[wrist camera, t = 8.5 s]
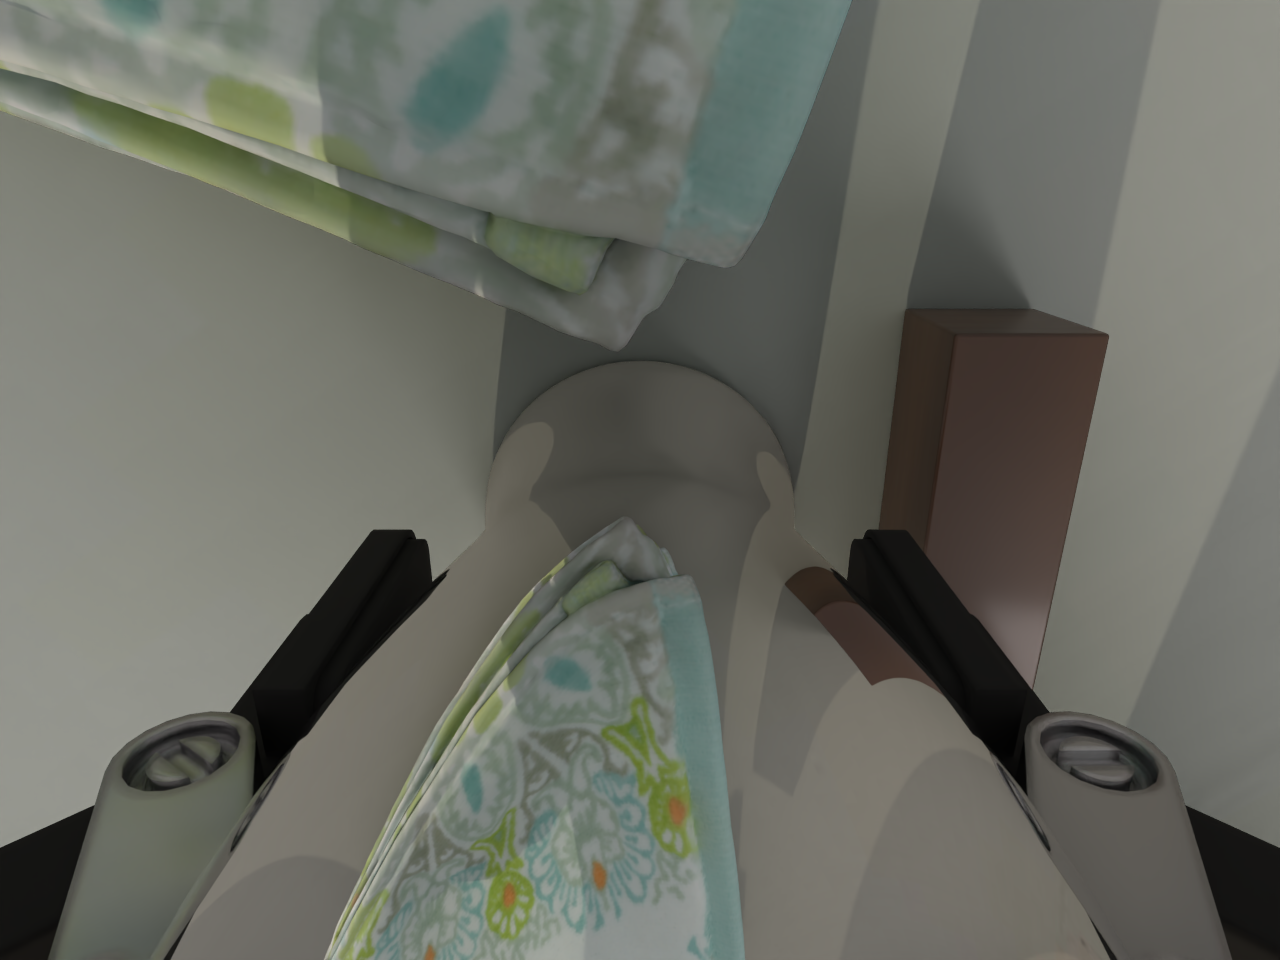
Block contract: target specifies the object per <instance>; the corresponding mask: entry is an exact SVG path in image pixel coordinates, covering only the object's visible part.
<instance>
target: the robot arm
mask: <svg viewBox="0 0 1280 960" xmlns="http://www.w3.org/2000/svg"><path fill="white" fill-rule="evenodd" d="M847 581H848V582H849V583H850V584H851V585H852V586H853V587H854V588H855V589H856V590H857V591H858V592H859V593H860V594H861V596H862V597H863V598H864V599H865V600H866V601H867V602H868V603H869V604H870V605H871V606H872V607H873V608H874V609H875V610H876V611H877V612H878V613H879V614H880V615H881V616H882V617H883V618H884V619H885V620H886V621H887V622H888V623H889V624H890V625H891V626H892V627H893V628H894V629H895V630H896V631H897V632H898V633H899V634H900V635H901V637H902V638H903V639H904V640H905V641H906V642H907V643H908V645H909V646H910V647H911V648H912V649H913V650H914V652H915V653H916V654H917V655H918V656H919V657H920V659H921V660H922V661H923V662H924V663H925V665H926V666H927V667H928V668H929V669H930V670H931V672H932V673H933V674H934V675H935V676H936V677H937V679H938V680H939V681H940V682H941V683H942V685H943V686H944V687H945V688H946V689H947V690H948V692H949V693H950V694H951V695H952V696H953V697H954V699H955V700H956V701H957V702H958V703H959V705H960V706H961V707H962V708H963V709H964V710H965V712H966V713H967V714H968V715H969V716H970V717H971V719H972V720H973V721H974V722H975V723H976V725H977V726H978V727H979V728H980V729H981V731H982V732H983V733H984V735H985V736H986V737H987V738H988V740H989V741H990V742H991V744H992V745H993V747H994V748H995V750H996V751H997V753H998V754H999V756H1000V757H1001V759H1002V760H1003V761H1004V763H1005V764H1006V766H1007V767H1008V769H1009V770H1010V772H1011V773H1012V775H1013V776H1014V778H1015V779H1016V781H1017V782H1018V784H1019V785H1020V787H1021V788H1022V789H1023V791H1024V792H1025V794H1026V795H1027V797H1028V798H1029V800H1030V801H1031V803H1032V804H1033V806H1034V807H1035V809H1036V810H1037V812H1038V813H1039V815H1040V816H1041V818H1042V819H1043V820H1044V822H1045V823H1046V825H1047V826H1048V828H1049V829H1050V831H1051V832H1052V834H1053V835H1054V837H1055V838H1056V840H1057V841H1058V843H1059V844H1060V846H1061V847H1062V849H1063V850H1064V851H1065V853H1066V854H1067V856H1068V857H1069V859H1070V860H1071V862H1072V863H1073V865H1074V866H1075V868H1076V869H1077V871H1078V872H1079V874H1080V875H1081V877H1082V878H1083V879H1084V881H1085V882H1086V884H1087V885H1088V887H1089V888H1090V890H1091V891H1092V893H1093V894H1094V896H1095V898H1096V899H1097V901H1098V903H1099V904H1100V906H1101V908H1102V909H1103V911H1104V913H1105V914H1106V916H1107V918H1108V919H1109V921H1110V923H1111V925H1112V926H1113V928H1114V930H1115V931H1116V933H1117V935H1118V936H1119V938H1120V940H1121V941H1122V943H1123V945H1124V947H1125V948H1126V950H1127V952H1128V953H1129V955H1130V957H1131V958H1132V960H1280V848H1278V847H1276V846H1274V845H1272V844H1270V843H1267V842H1265V841H1263V840H1261V839H1259V838H1256V837H1254V836H1252V835H1250V834H1248V833H1245V832H1243V831H1241V830H1239V829H1237V828H1234V827H1232V826H1230V825H1228V824H1226V823H1223V822H1221V821H1219V820H1217V819H1214V818H1212V817H1210V816H1208V815H1206V814H1203V813H1201V812H1199V811H1197V810H1195V809H1192V808H1190V807H1188V806H1186V805H1185V803H1184V799H1183V796H1182V793H1181V790H1180V786H1179V783H1178V780H1177V776H1176V773H1175V771H1174V769H1173V767H1172V765H1171V763H1170V762H1169V760H1168V758H1167V757H1166V756H1165V755H1164V754H1163V753H1162V752H1161V751H1160V750H1159V749H1158V748H1157V747H1156V746H1155V745H1154V744H1153V743H1152V742H1150V741H1149V740H1147V739H1146V738H1144V737H1143V736H1141V735H1140V734H1138V733H1137V732H1135V731H1133V730H1131V729H1129V728H1127V727H1125V726H1122V725H1120V724H1118V723H1116V722H1114V721H1111V720H1108V719H1104V718H1101V717H1098V716H1094V715H1091V714H1084V713H1077V712H1070V711H1069V712H1049V711H1048V710H1047V708H1046V707H1045V706H1044V705H1043V703H1042V702H1041V701H1040V699H1039V698H1038V697H1037V695H1036V694H1035V693H1034V691H1033V690H1032V689H1031V688H1030V686H1029V685H1028V684H1027V682H1026V681H1025V680H1024V678H1023V677H1022V676H1021V674H1020V673H1019V672H1018V671H1017V669H1016V668H1015V667H1014V665H1013V664H1012V663H1011V661H1010V660H1009V659H1008V657H1007V656H1006V655H1005V654H1004V652H1003V651H1002V650H1001V648H1000V647H999V646H998V644H997V643H996V642H995V640H994V639H993V638H992V636H991V635H990V634H989V633H988V631H987V630H986V629H985V627H984V626H983V625H982V623H981V622H980V621H979V620H978V619H977V618H976V617H975V616H974V615H973V614H970V613H969V612H968V610H967V609H966V608H965V606H964V605H963V604H962V602H961V601H960V600H959V598H958V597H957V596H956V594H955V593H954V592H953V590H952V589H951V588H950V586H949V585H948V584H947V582H946V581H945V580H944V578H943V577H942V576H941V574H940V573H939V572H938V570H937V569H936V568H935V567H934V565H933V564H932V563H931V561H930V560H929V559H928V557H927V556H926V555H925V553H924V552H923V551H922V549H921V548H920V547H919V545H918V544H917V543H916V541H915V540H914V539H913V537H912V536H911V535H910V533H909V532H908V531H907V530H867V531H866V533H865V535H864V538H863V539H854V540H853V542H852V545H851V550H850V559H849V568H848V577H847ZM431 583H432V574H431V565H430V556H429V548H428V544H427V541H426V540H425V539H416V537H415V534H414V532H413V531H412V530H373V531H372V532H370V534H369V535H368V536H367V538H366V539H365V540H364V542H363V543H362V544H361V546H360V547H359V548H358V550H357V551H356V552H355V554H354V555H353V556H352V558H351V559H350V560H349V562H348V563H347V564H346V566H345V567H344V568H343V570H342V571H341V572H340V574H339V575H338V576H337V578H336V579H335V580H334V582H333V583H332V584H331V585H330V587H329V588H328V589H327V591H326V592H325V593H324V595H323V596H322V597H321V599H320V600H319V601H318V603H317V604H316V605H315V607H314V608H313V609H312V611H311V612H310V613H309V614H307V615H305V616H304V617H303V618H302V619H301V620H300V621H299V623H298V624H297V625H296V626H295V628H294V629H293V630H292V632H291V633H290V634H289V636H288V637H287V638H286V640H285V641H284V642H283V644H282V645H281V646H280V647H279V649H278V650H277V651H276V653H275V654H274V655H273V657H272V658H271V659H270V661H269V662H268V663H267V664H266V666H265V667H264V668H263V670H262V671H261V672H260V674H259V675H258V676H257V678H256V679H255V680H254V681H253V683H252V684H251V685H250V687H249V688H248V689H247V691H246V692H245V693H244V695H243V696H242V697H241V698H240V700H239V701H238V702H237V704H236V705H235V706H234V708H233V709H232V710H231V712H211V711H210V712H203V713H196V714H189V715H186V716H182V717H179V718H176V719H172V720H169V721H166V722H164V723H162V724H160V725H158V726H155V727H153V728H151V729H149V730H147V731H145V732H143V733H142V734H140V735H139V736H137V737H136V738H134V739H133V740H131V741H130V742H128V743H127V744H126V745H125V746H124V747H123V748H122V749H121V750H120V751H119V752H118V753H117V754H116V755H115V756H114V757H113V758H112V760H111V762H110V763H109V765H108V767H107V769H106V771H105V773H104V776H103V780H102V783H101V786H100V790H99V793H98V796H97V799H96V803H95V805H94V806H92V807H89V808H87V809H85V810H83V811H80V812H78V813H76V814H74V815H72V816H69V817H67V818H65V819H63V820H61V821H58V822H56V823H54V824H52V825H50V826H47V827H45V828H43V829H41V830H39V831H36V832H34V833H32V834H30V835H28V836H25V837H23V838H21V839H19V840H17V841H14V842H12V843H10V844H8V845H6V846H3V847H1V848H0V960H148V959H149V958H150V956H151V954H152V953H153V951H154V949H155V948H156V946H157V944H158V943H159V941H160V939H161V937H162V936H163V934H164V932H165V931H166V929H167V927H168V926H169V924H170V922H171V921H172V919H173V917H174V915H175V914H176V912H177V910H178V909H179V907H180V905H181V904H182V902H183V900H184V899H185V897H186V896H187V894H188V893H189V891H190V889H191V888H192V886H193V885H194V883H195V882H196V880H197V879H198V877H199V876H200V874H201V873H202V871H203V870H204V869H205V867H206V866H207V864H208V863H209V861H210V860H211V858H212V857H213V855H214V854H215V852H216V851H217V849H218V848H219V846H220V845H221V843H222V842H223V840H224V839H225V837H226V836H227V835H228V833H229V832H230V830H231V829H232V827H233V826H234V824H235V823H236V821H237V820H238V818H239V817H240V815H241V814H242V812H243V811H244V809H245V808H246V806H247V805H248V804H249V802H250V801H251V799H252V798H253V796H254V795H255V793H256V792H257V790H258V789H259V787H260V786H261V784H262V783H263V781H264V780H265V778H266V777H267V775H268V774H269V773H270V771H271V770H272V768H273V767H274V765H275V764H276V762H277V761H278V759H279V758H280V756H281V755H282V753H283V752H284V750H285V749H286V747H287V746H288V745H289V743H290V742H291V741H292V739H293V738H294V737H295V735H296V734H297V733H298V731H299V730H300V729H301V728H302V727H303V725H304V724H305V723H306V722H307V721H308V720H309V718H310V717H311V716H312V715H313V714H314V712H315V711H316V710H317V709H318V708H319V707H320V705H321V704H322V703H323V702H324V701H325V700H326V698H327V697H328V696H329V695H330V694H331V693H332V691H333V690H334V689H335V688H336V687H337V685H338V684H339V683H340V682H341V681H342V680H343V678H344V677H345V676H346V675H347V674H348V673H349V671H350V670H351V669H352V668H353V667H354V665H355V664H356V663H357V662H358V661H359V660H360V658H361V657H362V656H363V655H364V654H365V653H366V651H367V650H368V649H369V648H370V647H371V646H372V644H373V643H374V642H375V641H376V640H377V638H378V637H379V636H380V635H381V634H382V633H383V632H384V631H385V630H386V629H387V628H388V627H389V626H390V624H391V623H392V622H393V621H394V620H395V619H396V618H397V617H398V616H399V615H400V614H401V613H402V612H403V611H404V610H405V609H406V608H407V607H408V606H409V605H410V604H411V603H412V602H413V601H414V600H415V599H416V598H417V597H418V596H419V595H420V594H421V593H422V592H423V591H424V590H425V589H426V588H427V587H428V586H429V585H430V584H431Z"/></svg>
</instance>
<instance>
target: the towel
mask: <svg viewBox="0 0 1280 960" xmlns="http://www.w3.org/2000/svg"><path fill="white" fill-rule="evenodd" d="M851 2H852V0H0V111H3V112H6V113H9V114H11V115H14V116H17V117H20V118H22V119H25V120H28V121H31V122H33V123H36V124H39V125H42V126H45V127H47V128H50V129H53V130H56V131H59V132H62V133H64V134H67V135H70V136H72V137H75V138H78V139H80V140H83V141H85V142H88V143H91V144H93V145H96V146H98V147H101V148H104V149H108V150H112V151H115V152H118V153H122V154H125V155H128V156H131V157H134V158H137V159H140V160H143V161H145V162H148V163H151V164H154V165H157V166H160V167H162V168H165V169H168V170H171V171H174V172H178V173H182V174H185V175H189V176H192V177H194V178H196V179H199V180H201V181H204V182H206V183H208V184H211V185H213V186H216V187H219V188H222V189H224V190H226V191H229V192H231V193H233V194H236V195H238V196H241V197H244V198H246V199H248V200H251V201H253V202H255V203H257V204H260V205H262V206H264V207H267V208H269V209H271V210H274V211H276V212H279V213H281V214H283V215H286V216H288V217H291V218H293V219H296V220H299V221H301V222H304V223H307V224H309V225H312V226H315V227H317V228H319V229H322V230H324V231H326V232H329V233H331V234H333V235H336V236H338V237H340V238H343V239H345V240H347V241H349V242H351V243H353V244H355V245H358V246H360V247H362V248H364V249H366V250H369V251H371V252H374V253H376V254H379V255H381V256H384V257H386V258H389V259H391V260H394V261H396V262H398V263H400V264H403V265H405V266H407V267H410V268H412V269H414V270H417V271H419V272H422V273H424V274H427V275H429V276H432V277H434V278H437V279H439V280H442V281H445V282H447V283H450V284H452V285H455V286H457V287H459V288H462V289H464V290H467V291H469V292H471V293H474V294H476V295H479V296H481V297H483V298H485V299H487V300H489V301H491V302H493V303H495V304H497V305H500V306H503V307H506V308H508V309H511V310H514V311H517V312H519V313H521V314H523V315H526V316H528V317H530V318H532V319H534V320H536V321H538V322H541V323H543V324H545V325H547V326H549V327H551V328H553V329H555V330H557V331H559V332H561V333H564V334H567V335H570V336H573V337H576V338H579V339H583V340H586V341H590V342H594V343H597V344H599V345H601V346H603V347H604V348H606V349H608V350H611V351H620V350H621V349H623V348H624V347H625V346H626V345H627V344H628V342H629V340H630V339H631V337H632V336H633V334H634V333H635V331H636V329H637V328H638V326H639V325H640V323H641V321H642V320H643V318H644V317H645V316H646V315H647V314H649V313H651V312H653V311H654V310H656V309H658V308H659V307H660V305H661V304H662V303H663V301H664V299H665V298H666V296H667V294H668V293H669V291H670V290H671V288H672V286H673V285H674V283H675V280H676V277H677V274H678V271H679V270H680V269H681V267H682V266H683V264H684V263H685V262H686V260H687V259H689V260H693V261H696V262H700V263H705V264H709V265H713V266H718V267H722V268H729V267H733V266H735V265H736V264H737V263H738V262H739V261H740V260H741V259H742V258H743V257H744V255H745V253H746V252H747V250H748V248H749V247H750V245H751V243H752V242H753V240H754V238H755V237H756V235H757V233H758V232H759V230H760V228H761V226H762V225H763V223H764V221H765V220H766V217H767V214H768V212H769V209H770V206H771V204H772V201H773V198H774V196H775V194H776V191H777V189H778V187H779V185H780V183H781V181H782V179H783V176H784V174H785V172H786V170H787V168H788V166H789V164H790V161H791V159H792V157H793V155H794V153H795V150H796V148H797V145H798V143H799V140H800V138H801V135H802V132H803V130H804V127H805V125H806V122H807V120H808V117H809V115H810V112H811V110H812V107H813V104H814V102H815V99H816V96H817V94H818V91H819V89H820V86H821V83H822V80H823V78H824V75H825V72H826V70H827V67H828V64H829V62H830V59H831V56H832V54H833V51H834V48H835V46H836V43H837V40H838V38H839V35H840V32H841V30H842V27H843V24H844V21H845V19H846V16H847V13H848V10H849V8H850V5H851Z"/></svg>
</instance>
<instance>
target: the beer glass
mask: <svg viewBox="0 0 1280 960" xmlns="http://www.w3.org/2000/svg"><path fill="white" fill-rule="evenodd" d="M148 960H1132V958H1131V957H1130V955H1129V953H1128V952H1127V950H1126V948H1125V947H1124V945H1123V943H1122V941H1121V940H1120V938H1119V936H1118V935H1117V933H1116V931H1115V930H1114V928H1113V926H1112V925H1111V923H1110V921H1109V919H1108V918H1107V916H1106V914H1105V913H1104V911H1103V909H1102V908H1101V906H1100V904H1099V903H1098V901H1097V899H1096V898H1095V896H1094V894H1093V893H1092V891H1091V890H1090V888H1089V887H1088V885H1087V884H1086V882H1085V881H1084V879H1083V878H1082V877H1081V875H1080V874H1079V872H1078V871H1077V869H1076V868H1075V866H1074V865H1073V863H1072V862H1071V860H1070V859H1069V857H1068V856H1067V854H1066V853H1065V851H1064V850H1063V849H1062V847H1061V846H1060V844H1059V843H1058V841H1057V840H1056V838H1055V837H1054V835H1053V834H1052V832H1051V831H1050V829H1049V828H1048V826H1047V825H1046V823H1045V822H1044V820H1043V819H1042V818H1041V816H1040V815H1039V813H1038V812H1037V810H1036V809H1035V807H1034V806H1033V804H1032V803H1031V801H1030V800H1029V798H1028V797H1027V795H1026V794H1025V792H1024V791H1023V789H1022V788H1021V787H1020V785H1019V784H1018V782H1017V781H1016V779H1015V778H1014V776H1013V775H1012V773H1011V772H1010V770H1009V769H1008V767H1007V766H1006V764H1005V763H1004V761H1003V760H1002V759H1001V757H1000V756H999V754H998V753H997V751H996V750H995V748H994V747H993V745H992V744H991V742H990V741H989V740H988V738H987V737H986V736H985V735H984V733H983V732H982V731H981V729H980V728H979V727H978V726H977V725H976V723H975V722H974V721H973V720H972V719H971V717H970V716H969V715H968V714H967V713H966V712H965V710H964V709H963V708H962V707H961V706H960V705H959V703H958V702H957V701H956V700H955V699H954V697H953V696H952V695H951V694H950V693H949V692H948V690H947V689H946V688H945V687H944V686H943V685H942V683H941V682H940V681H939V680H938V679H937V677H936V676H935V675H934V674H933V673H932V672H931V670H930V669H929V668H928V667H927V666H926V665H925V663H924V662H923V661H922V660H921V659H920V657H919V656H918V655H917V654H916V653H915V652H914V650H913V649H912V648H911V647H910V646H909V645H908V643H907V642H906V641H905V640H904V639H903V638H902V637H901V635H900V634H899V633H898V632H897V631H896V630H895V629H894V628H893V627H892V626H891V625H890V624H889V623H888V622H887V621H886V620H885V619H884V618H883V617H882V616H881V615H880V614H879V613H878V612H877V611H876V610H875V609H874V608H873V607H872V606H871V605H870V604H869V603H868V602H867V601H866V600H865V599H864V598H863V597H862V596H861V594H860V593H859V592H858V591H857V590H856V589H855V588H854V587H853V586H852V585H851V584H850V583H849V582H848V581H847V580H846V579H845V578H844V577H843V576H842V575H841V574H840V573H839V572H838V571H837V570H836V569H835V568H834V567H833V566H832V565H831V564H830V563H829V562H827V561H826V560H825V559H824V558H823V557H822V556H821V555H820V554H819V553H818V552H817V551H816V550H815V549H814V548H813V547H812V546H811V545H810V544H809V543H808V542H807V541H806V540H805V539H804V538H803V537H802V536H801V535H800V534H799V533H798V532H797V531H796V530H795V512H794V494H793V486H792V481H791V476H790V472H789V468H788V464H787V461H786V458H785V455H784V453H783V450H782V448H781V446H780V444H779V441H778V440H777V438H776V436H775V434H774V432H773V431H772V429H771V428H770V426H769V425H768V423H767V422H766V421H765V419H764V418H763V417H762V416H761V414H760V413H759V412H758V411H757V410H756V409H755V408H754V407H753V406H752V405H751V404H750V403H749V402H748V401H747V400H746V399H745V398H743V397H742V396H741V395H740V394H738V393H737V392H736V391H734V390H733V389H732V388H730V387H729V386H727V385H725V384H724V383H722V382H720V381H718V380H717V379H715V378H713V377H711V376H708V375H706V374H704V373H702V372H699V371H696V370H693V369H690V368H687V367H683V366H680V365H675V364H670V363H664V362H656V361H626V362H617V363H611V364H606V365H601V366H597V367H594V368H591V369H588V370H585V371H582V372H580V373H577V374H575V375H573V376H570V377H568V378H566V379H564V380H562V381H561V382H559V383H557V384H556V385H554V386H552V387H551V388H549V389H548V390H547V391H545V392H544V393H542V394H541V395H540V396H539V397H537V398H536V399H535V400H534V401H533V402H532V403H531V404H530V405H529V406H528V407H527V408H526V409H525V410H524V411H523V412H522V413H521V414H520V415H519V417H518V418H517V419H516V420H515V422H514V423H513V424H512V426H511V427H510V429H509V430H508V432H507V434H506V435H505V437H504V439H503V441H502V443H501V445H500V447H499V449H498V451H497V454H496V457H495V459H494V462H493V465H492V468H491V471H490V475H489V480H488V485H487V493H486V503H485V531H484V532H483V533H482V534H481V535H480V536H479V537H478V538H477V539H476V540H475V541H474V542H473V543H472V544H471V545H470V546H469V547H468V548H467V549H466V550H465V551H464V552H463V553H462V554H461V555H460V556H459V557H458V558H457V559H455V560H454V561H453V562H452V563H451V564H450V565H449V566H448V567H447V568H446V569H445V570H444V571H443V572H442V573H441V574H440V575H439V576H438V577H437V578H436V579H435V580H434V581H433V582H432V583H431V584H430V585H429V586H428V587H427V588H426V589H425V590H424V591H423V592H422V593H421V594H420V595H419V596H418V597H417V598H416V599H415V600H414V601H413V602H412V603H411V604H410V605H409V606H408V607H407V608H406V609H405V610H404V611H403V612H402V613H401V614H400V615H399V616H398V617H397V618H396V619H395V620H394V621H393V622H392V623H391V624H390V626H389V627H388V628H387V629H386V630H385V631H384V632H383V633H382V634H381V635H380V636H379V637H378V638H377V640H376V641H375V642H374V643H373V644H372V646H371V647H370V648H369V649H368V650H367V651H366V653H365V654H364V655H363V656H362V657H361V658H360V660H359V661H358V662H357V663H356V664H355V665H354V667H353V668H352V669H351V670H350V671H349V673H348V674H347V675H346V676H345V677H344V678H343V680H342V681H341V682H340V683H339V684H338V685H337V687H336V688H335V689H334V690H333V691H332V693H331V694H330V695H329V696H328V697H327V698H326V700H325V701H324V702H323V703H322V704H321V705H320V707H319V708H318V709H317V710H316V711H315V712H314V714H313V715H312V716H311V717H310V718H309V720H308V721H307V722H306V723H305V724H304V725H303V727H302V728H301V729H300V730H299V731H298V733H297V734H296V735H295V737H294V738H293V739H292V741H291V742H290V743H289V745H288V746H287V747H286V749H285V750H284V752H283V753H282V755H281V756H280V758H279V759H278V761H277V762H276V764H275V765H274V767H273V768H272V770H271V771H270V773H269V774H268V775H267V777H266V778H265V780H264V781H263V783H262V784H261V786H260V787H259V789H258V790H257V792H256V793H255V795H254V796H253V798H252V799H251V801H250V802H249V804H248V805H247V806H246V808H245V809H244V811H243V812H242V814H241V815H240V817H239V818H238V820H237V821H236V823H235V824H234V826H233V827H232V829H231V830H230V832H229V833H228V835H227V836H226V837H225V839H224V840H223V842H222V843H221V845H220V846H219V848H218V849H217V851H216V852H215V854H214V855H213V857H212V858H211V860H210V861H209V863H208V864H207V866H206V867H205V869H204V870H203V871H202V873H201V874H200V876H199V877H198V879H197V880H196V882H195V883H194V885H193V886H192V888H191V889H190V891H189V893H188V894H187V896H186V897H185V899H184V900H183V902H182V904H181V905H180V907H179V909H178V910H177V912H176V914H175V915H174V917H173V919H172V921H171V922H170V924H169V926H168V927H167V929H166V931H165V932H164V934H163V936H162V937H161V939H160V941H159V943H158V944H157V946H156V948H155V949H154V951H153V953H152V954H151V956H150V958H149V959H148Z"/></svg>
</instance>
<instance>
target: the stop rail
mask: <svg viewBox="0 0 1280 960" xmlns="http://www.w3.org/2000/svg"><path fill="white" fill-rule="evenodd" d="M1108 339H1109V335H1108V334H1106V333H1104V332H1101V331H1098V330H1095V329H1092V328H1089V327H1086V326H1083V325H1080V324H1077V323H1074V322H1071V321H1068V320H1065V319H1062V318H1059V317H1056V316H1053V315H1050V314H1047V313H1044V312H1041V311H1038V310H1035V309H907V310H906V311H905V317H904V325H903V333H902V342H901V350H900V358H899V367H898V375H897V383H896V391H895V400H894V408H893V416H892V424H891V433H890V441H889V449H888V458H887V466H886V474H885V482H884V491H883V499H882V507H881V515H880V524H879V530H907V531H908V532H909V533H910V535H911V536H912V537H913V539H914V540H915V541H916V543H917V544H918V545H919V547H920V548H921V549H922V551H923V552H924V553H925V555H926V556H927V557H928V559H929V560H930V561H931V563H932V564H933V565H934V567H935V568H936V569H937V570H938V572H939V573H940V574H941V576H942V577H943V578H944V580H945V581H946V582H947V584H948V585H949V586H950V588H951V589H952V590H953V592H954V593H955V594H956V596H957V597H958V598H959V600H960V601H961V602H962V604H963V605H964V606H965V608H966V609H967V610H968V612H969V613H970V614H973V615H974V616H975V617H976V618H977V619H978V620H979V621H980V622H981V623H982V625H983V626H984V627H985V629H986V630H987V631H988V633H989V634H990V635H991V636H992V638H993V639H994V640H995V642H996V643H997V644H998V646H999V647H1000V648H1001V650H1002V651H1003V652H1004V654H1005V655H1006V656H1007V657H1008V659H1009V660H1010V661H1011V663H1012V664H1013V665H1014V667H1015V668H1016V669H1017V671H1018V672H1019V673H1020V674H1021V676H1022V677H1023V678H1024V680H1025V681H1026V682H1027V684H1028V685H1029V686H1030V688H1031V689H1032V690H1033V687H1034V682H1035V678H1036V673H1037V669H1038V664H1039V659H1040V655H1041V650H1042V645H1043V641H1044V636H1045V631H1046V627H1047V622H1048V618H1049V613H1050V608H1051V604H1052V599H1053V594H1054V590H1055V585H1056V580H1057V576H1058V571H1059V567H1060V562H1061V557H1062V553H1063V548H1064V543H1065V539H1066V534H1067V529H1068V525H1069V520H1070V516H1071V511H1072V506H1073V502H1074V497H1075V492H1076V488H1077V483H1078V478H1079V474H1080V469H1081V465H1082V460H1083V455H1084V451H1085V446H1086V441H1087V437H1088V432H1089V427H1090V423H1091V418H1092V414H1093V409H1094V404H1095V400H1096V395H1097V390H1098V386H1099V381H1100V376H1101V372H1102V367H1103V363H1104V358H1105V353H1106V349H1107V344H1108Z"/></svg>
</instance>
